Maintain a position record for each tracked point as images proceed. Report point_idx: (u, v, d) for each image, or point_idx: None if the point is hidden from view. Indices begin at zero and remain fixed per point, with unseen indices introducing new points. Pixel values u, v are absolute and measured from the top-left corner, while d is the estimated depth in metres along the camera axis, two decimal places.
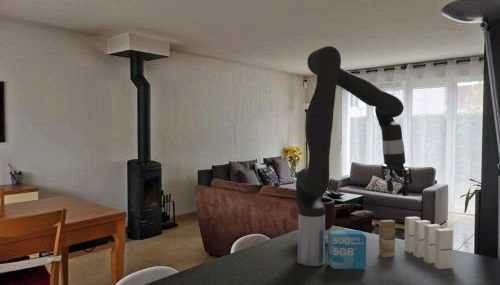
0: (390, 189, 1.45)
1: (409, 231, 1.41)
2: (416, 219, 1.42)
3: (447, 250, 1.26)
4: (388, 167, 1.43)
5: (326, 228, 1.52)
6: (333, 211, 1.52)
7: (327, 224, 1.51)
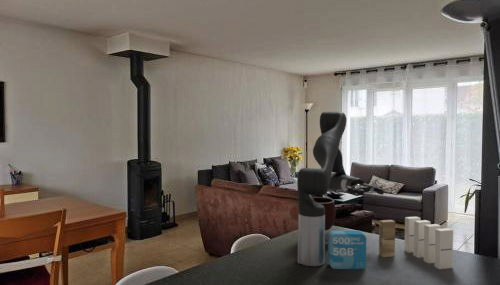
0: None
1: (409, 231, 1.41)
2: (416, 219, 1.42)
3: (447, 250, 1.26)
4: (354, 185, 1.56)
5: (326, 228, 1.52)
6: (333, 211, 1.52)
7: (327, 224, 1.51)
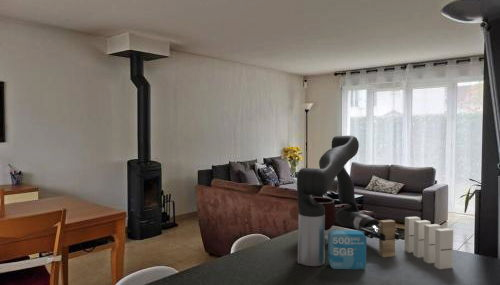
0: None
1: (409, 231, 1.41)
2: (416, 219, 1.42)
3: (447, 250, 1.26)
4: (368, 227, 1.46)
5: (326, 228, 1.52)
6: (333, 211, 1.52)
7: (327, 224, 1.51)
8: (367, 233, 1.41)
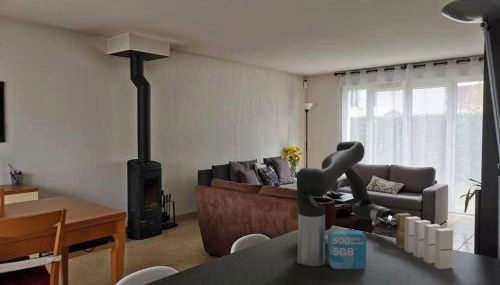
0: None
1: (409, 231, 1.41)
2: (416, 219, 1.42)
3: (447, 250, 1.26)
4: (386, 217, 1.56)
5: (326, 228, 1.52)
6: (333, 211, 1.52)
7: (327, 224, 1.51)
8: (381, 222, 1.52)
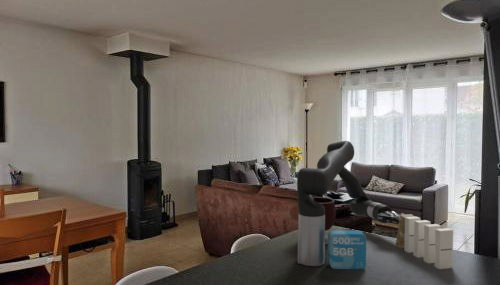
0: None
1: (409, 231, 1.41)
2: (416, 219, 1.42)
3: (447, 250, 1.26)
4: (381, 213, 1.58)
5: (326, 228, 1.52)
6: (333, 211, 1.52)
7: (327, 224, 1.51)
8: (385, 218, 1.53)
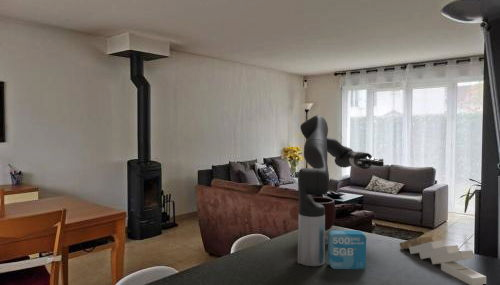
0: None
1: (425, 250, 1.33)
2: None
3: None
4: (361, 159, 1.66)
5: (326, 228, 1.52)
6: (333, 211, 1.52)
7: (327, 224, 1.51)
8: (365, 162, 1.61)
